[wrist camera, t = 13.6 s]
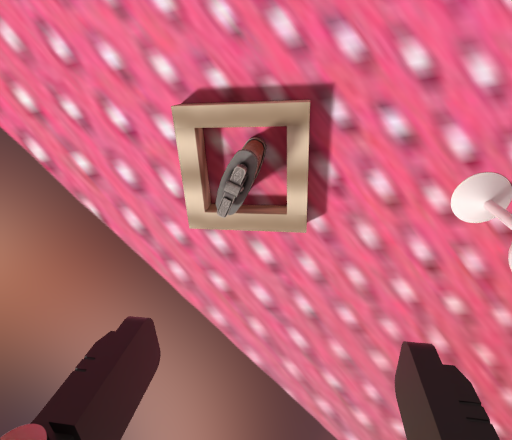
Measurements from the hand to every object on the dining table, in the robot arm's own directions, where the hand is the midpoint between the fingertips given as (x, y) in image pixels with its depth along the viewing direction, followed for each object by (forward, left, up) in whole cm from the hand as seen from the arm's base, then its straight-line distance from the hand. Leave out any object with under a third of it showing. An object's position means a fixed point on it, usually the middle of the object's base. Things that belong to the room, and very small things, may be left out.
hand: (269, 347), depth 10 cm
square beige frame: (+3, -7, -32) cm, 33 cm away
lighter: (+3, -7, -32) cm, 33 cm away
